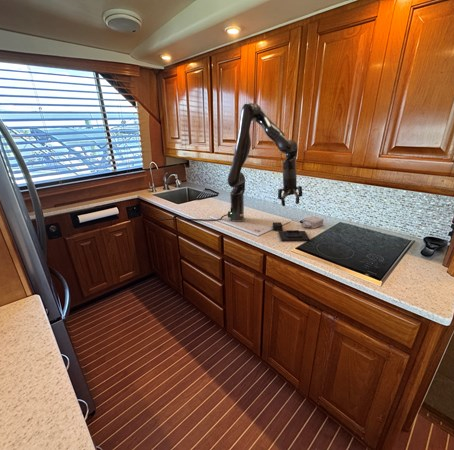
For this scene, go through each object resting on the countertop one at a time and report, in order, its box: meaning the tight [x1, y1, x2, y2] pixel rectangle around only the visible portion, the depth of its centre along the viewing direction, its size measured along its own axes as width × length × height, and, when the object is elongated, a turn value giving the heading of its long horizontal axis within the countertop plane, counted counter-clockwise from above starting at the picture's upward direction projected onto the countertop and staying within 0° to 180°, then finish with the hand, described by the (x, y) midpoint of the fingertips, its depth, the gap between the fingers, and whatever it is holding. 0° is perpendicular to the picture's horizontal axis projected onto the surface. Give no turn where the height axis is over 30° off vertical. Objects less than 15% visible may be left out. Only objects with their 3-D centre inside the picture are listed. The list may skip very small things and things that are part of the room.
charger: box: [301, 215, 324, 229], centre depth 155 cm, size 5×9×15 cm
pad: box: [272, 221, 283, 232], centre depth 152 cm, size 6×6×4 cm
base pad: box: [278, 229, 311, 242], centre depth 141 cm, size 16×12×2 cm
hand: (290, 204), depth 140 cm, fingers open, 8 cm apart
